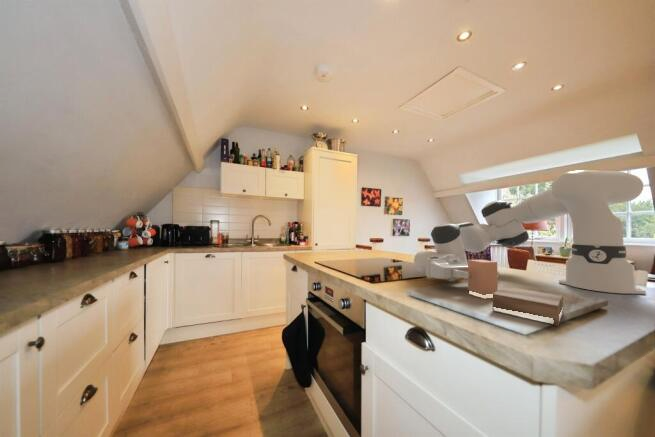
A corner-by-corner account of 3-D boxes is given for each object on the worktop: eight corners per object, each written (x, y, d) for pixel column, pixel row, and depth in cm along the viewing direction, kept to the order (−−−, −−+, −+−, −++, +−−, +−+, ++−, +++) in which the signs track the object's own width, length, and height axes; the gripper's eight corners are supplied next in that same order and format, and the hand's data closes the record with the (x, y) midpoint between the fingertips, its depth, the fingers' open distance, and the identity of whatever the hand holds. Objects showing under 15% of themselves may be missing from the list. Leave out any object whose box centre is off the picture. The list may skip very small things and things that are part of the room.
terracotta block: (468, 294, 70) (467, 259, 70) (482, 293, 71) (481, 259, 71) (483, 299, 65) (482, 262, 65) (497, 298, 66) (497, 261, 67)
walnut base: (504, 301, 63) (504, 286, 63) (563, 313, 55) (562, 295, 55) (492, 311, 56) (492, 293, 56) (558, 326, 47) (557, 305, 48)
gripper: (473, 275, 84) (512, 284, 70) (422, 277, 79) (453, 288, 65) (473, 257, 84) (512, 263, 70) (422, 258, 79) (453, 265, 66)
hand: (483, 275), depth 68 cm, fingers open, 8 cm apart
